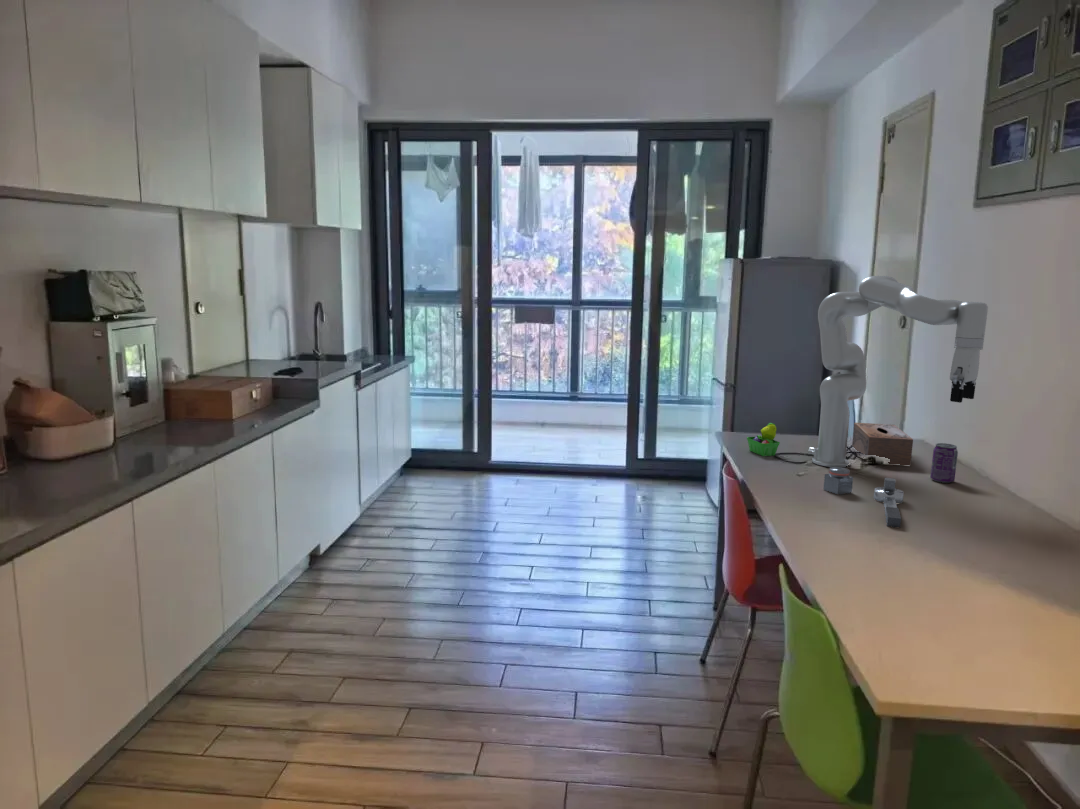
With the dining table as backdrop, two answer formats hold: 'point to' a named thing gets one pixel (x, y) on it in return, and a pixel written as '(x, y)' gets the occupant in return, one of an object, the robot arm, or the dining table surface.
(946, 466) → the beverage can
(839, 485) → the grey domed block
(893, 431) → the tissue box cover
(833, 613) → the dining table surface
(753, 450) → the fruit basket
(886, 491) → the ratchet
